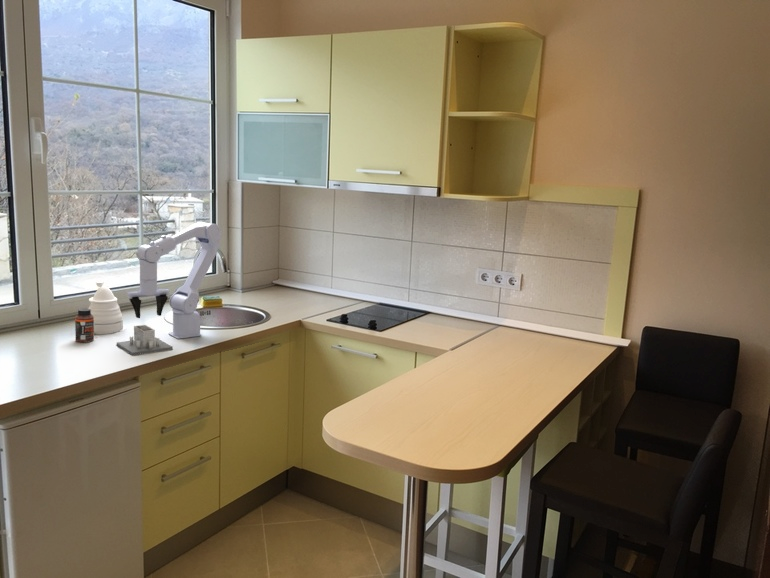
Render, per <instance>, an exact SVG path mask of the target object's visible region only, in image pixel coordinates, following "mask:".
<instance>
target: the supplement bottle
mask: <svg viewBox="0 0 770 578" xmlns="http://www.w3.org/2000/svg"><path fill="white" fill-rule="evenodd" d="M77 313H78V314H77V315H75V318H74V322H75V323H74V326H75V327H74V328H75V330H74V332H75V341H76V342H78V343H89V342H92V341H94V340H95V339H94V338H95V333H94V317H93V315H91V309H88V308H84V307H83V308H79V309H77Z"/></svg>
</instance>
